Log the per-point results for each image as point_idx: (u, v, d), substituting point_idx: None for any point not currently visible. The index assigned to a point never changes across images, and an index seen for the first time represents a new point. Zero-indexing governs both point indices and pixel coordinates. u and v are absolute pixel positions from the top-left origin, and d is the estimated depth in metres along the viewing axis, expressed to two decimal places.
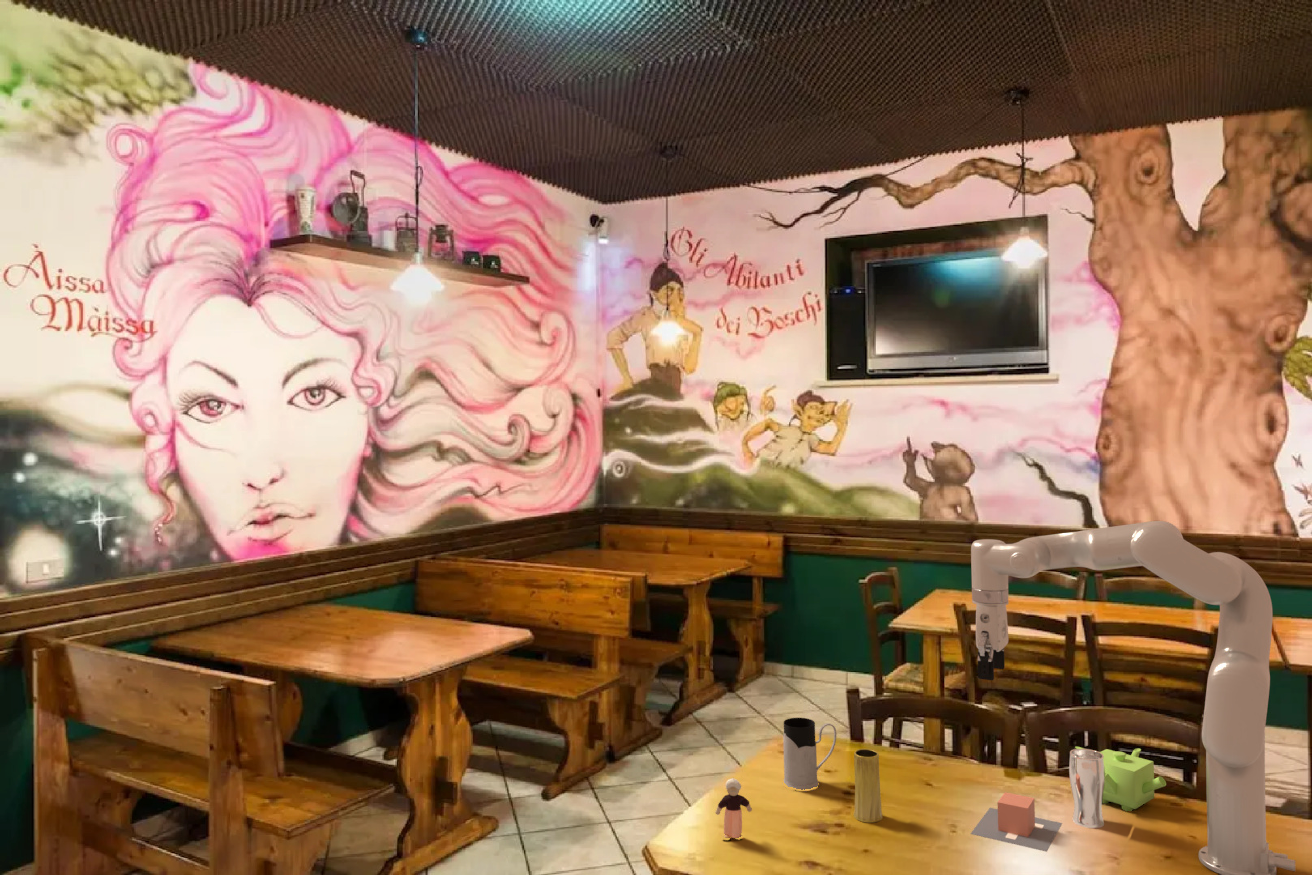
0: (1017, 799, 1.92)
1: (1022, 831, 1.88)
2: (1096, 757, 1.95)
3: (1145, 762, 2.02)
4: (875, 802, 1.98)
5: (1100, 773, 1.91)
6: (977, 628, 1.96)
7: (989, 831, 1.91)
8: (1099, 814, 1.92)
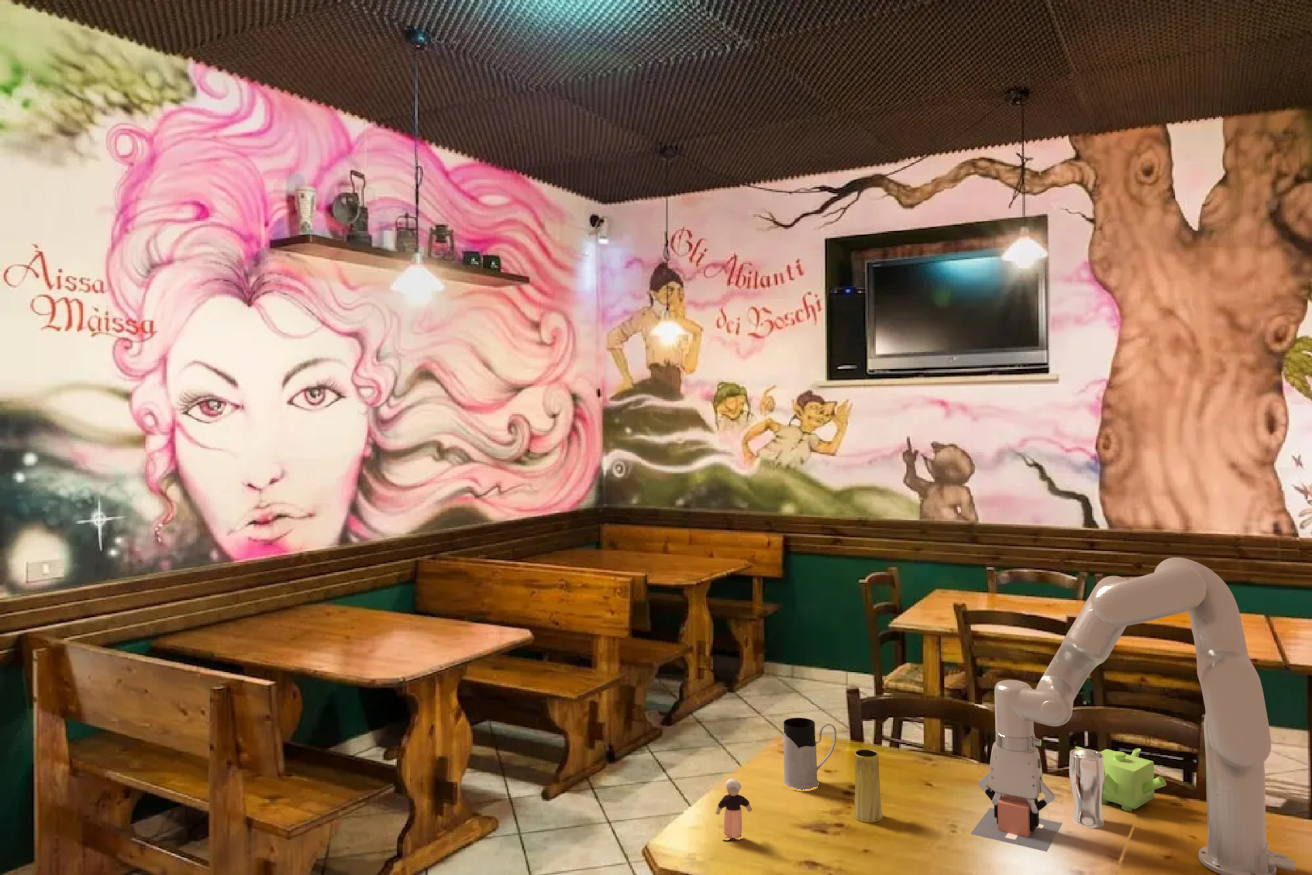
0: (1017, 799, 1.92)
1: (1022, 831, 1.88)
2: (1096, 757, 1.95)
3: (1145, 762, 2.02)
4: (875, 802, 1.98)
5: (1100, 773, 1.91)
6: (1037, 777, 1.88)
7: (989, 831, 1.91)
8: (1099, 814, 1.92)
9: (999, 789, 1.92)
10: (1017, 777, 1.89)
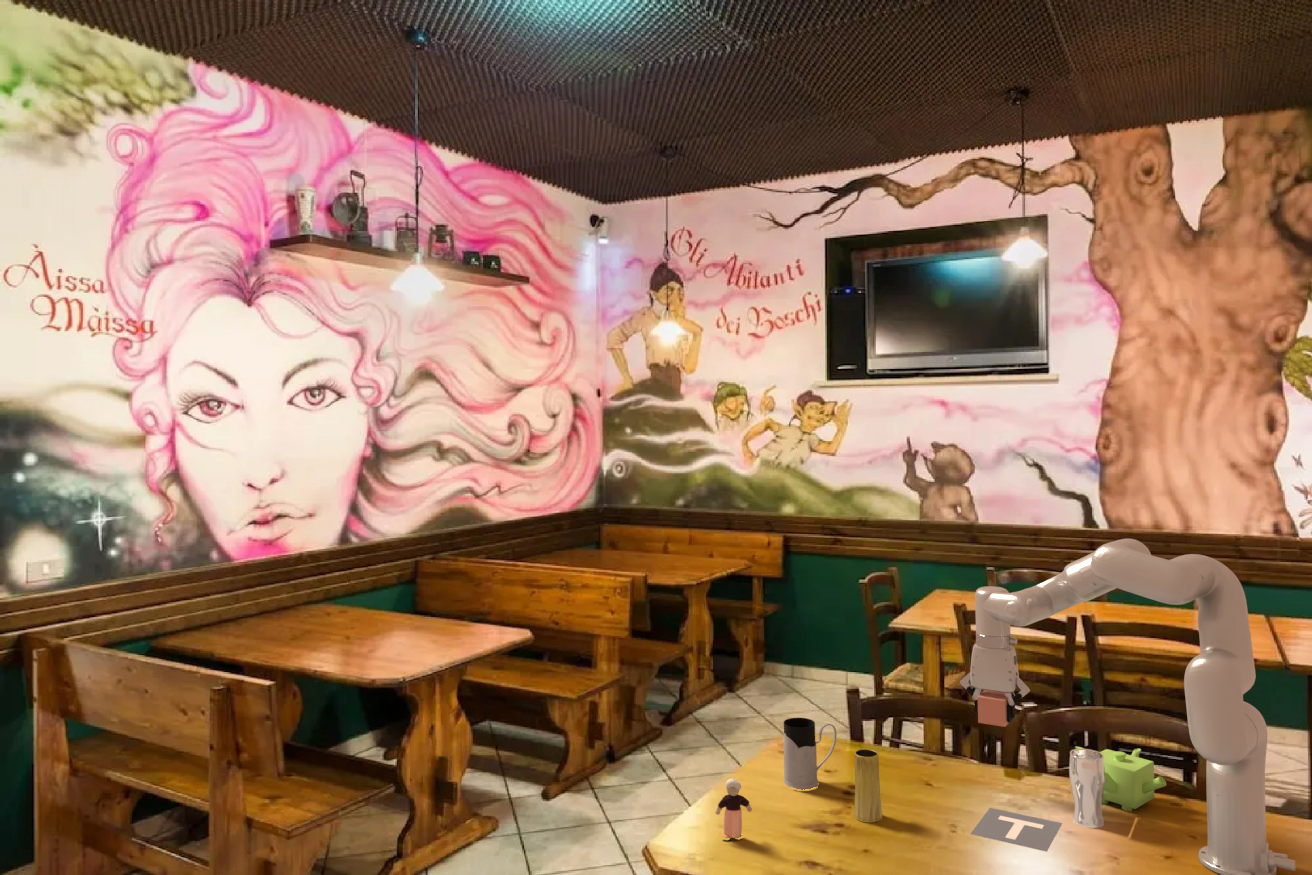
0: (995, 694, 2.10)
1: (1000, 722, 2.06)
2: (1096, 757, 1.95)
3: (1145, 762, 2.02)
4: (875, 802, 1.98)
5: (1100, 773, 1.91)
6: (1013, 672, 2.06)
7: (989, 831, 1.91)
8: (1099, 814, 1.92)
9: (979, 685, 2.10)
10: (995, 673, 2.07)
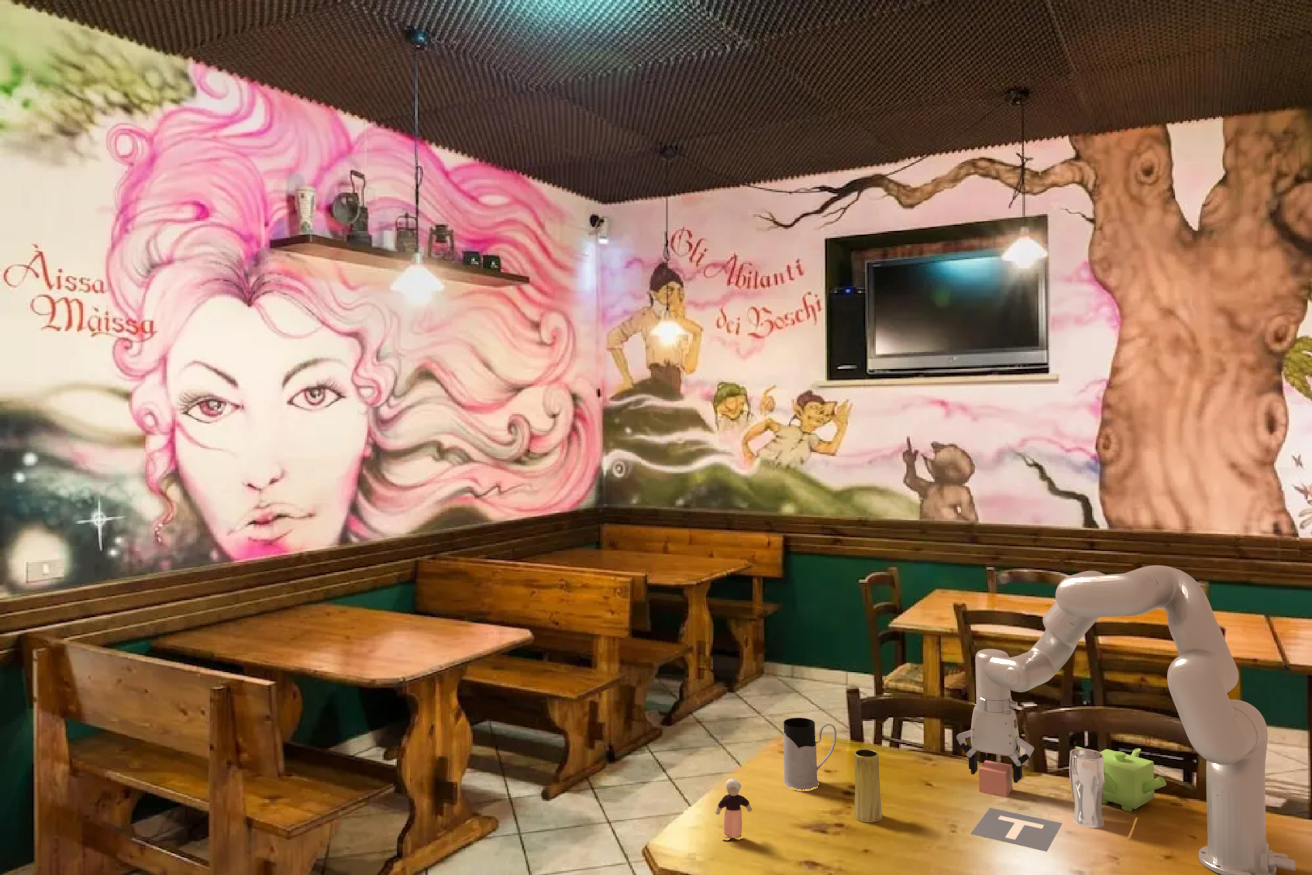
0: (996, 765, 2.12)
1: (1001, 794, 2.08)
2: (1096, 757, 1.95)
3: (1145, 762, 2.02)
4: (875, 802, 1.98)
5: (1100, 773, 1.91)
6: (1013, 736, 2.07)
7: (989, 831, 1.91)
8: (1099, 814, 1.92)
9: (980, 747, 2.11)
10: (995, 736, 2.09)
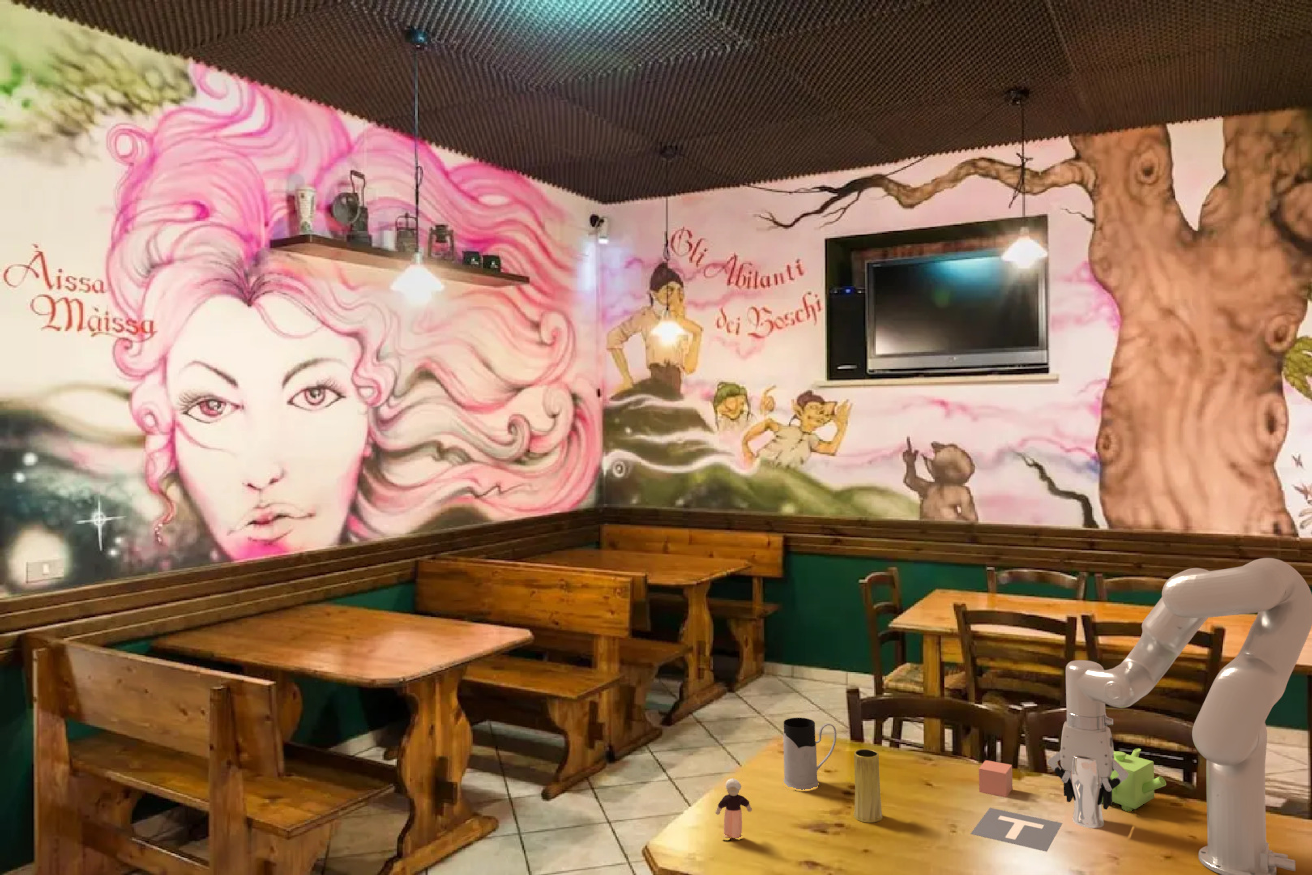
0: (996, 765, 2.12)
1: (1001, 794, 2.08)
2: None
3: (1145, 762, 2.02)
4: (875, 802, 1.98)
5: None
6: (1110, 756, 1.90)
7: (989, 831, 1.91)
8: (1099, 814, 1.92)
9: None
10: (1089, 756, 1.91)
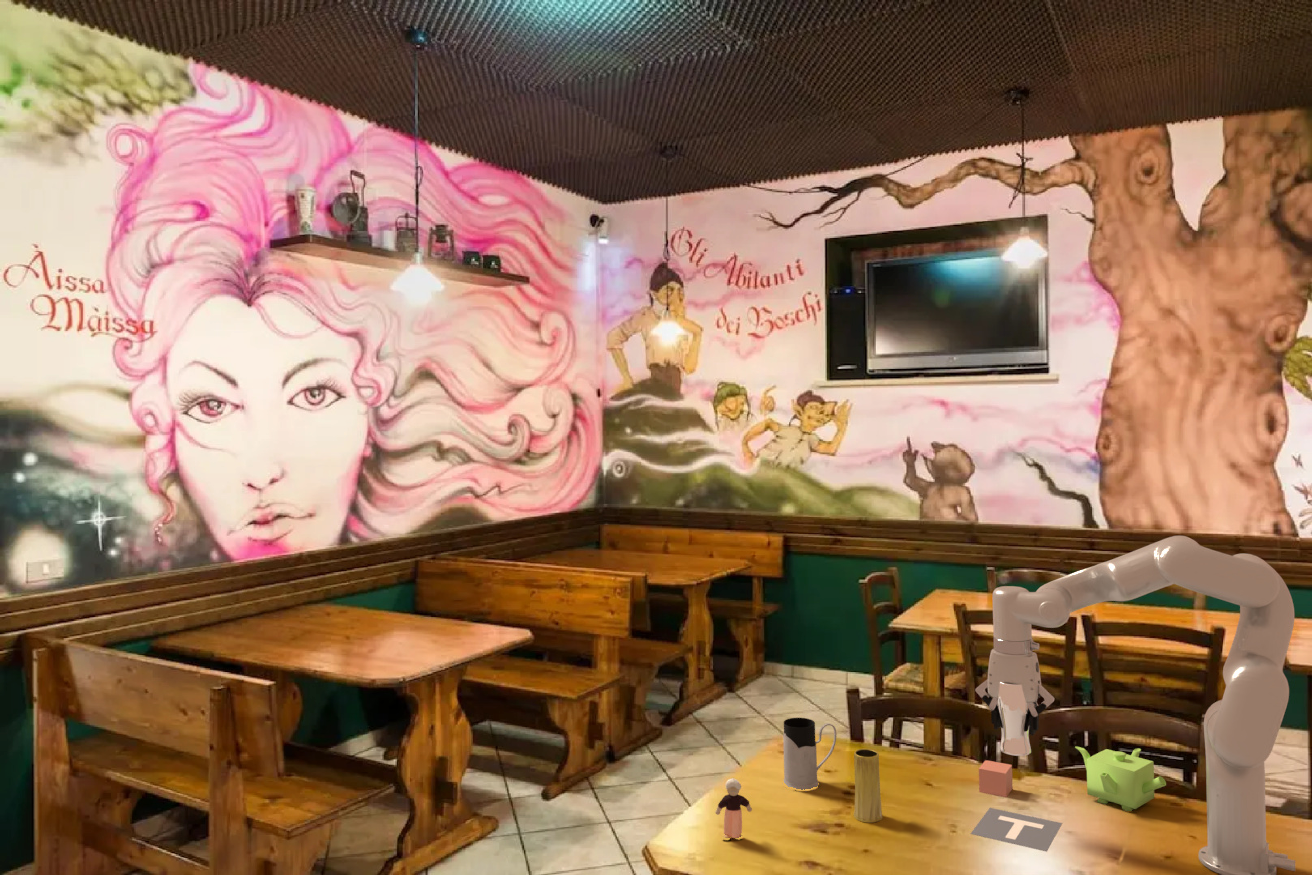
0: (996, 765, 2.12)
1: (1001, 794, 2.08)
2: None
3: (1145, 762, 2.02)
4: (875, 802, 1.98)
5: None
6: (1035, 680, 1.87)
7: (989, 831, 1.91)
8: (1025, 740, 1.89)
9: None
10: (1015, 681, 1.89)
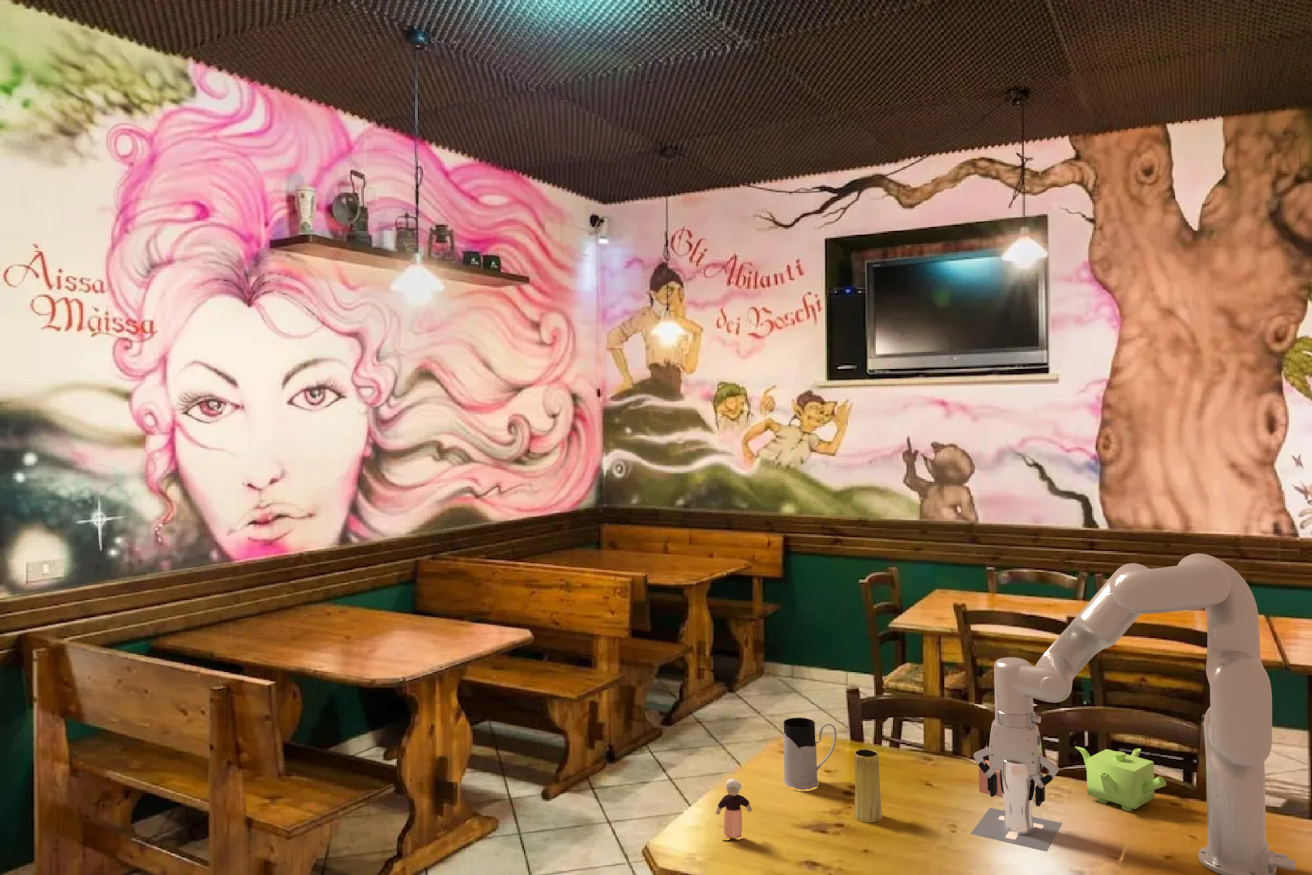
0: None
1: (1001, 794, 2.08)
2: None
3: (1145, 762, 2.02)
4: (875, 802, 1.98)
5: (1029, 777, 1.88)
6: (1037, 754, 1.87)
7: (989, 831, 1.91)
8: (1029, 819, 1.89)
9: (999, 766, 1.91)
10: (1017, 754, 1.89)
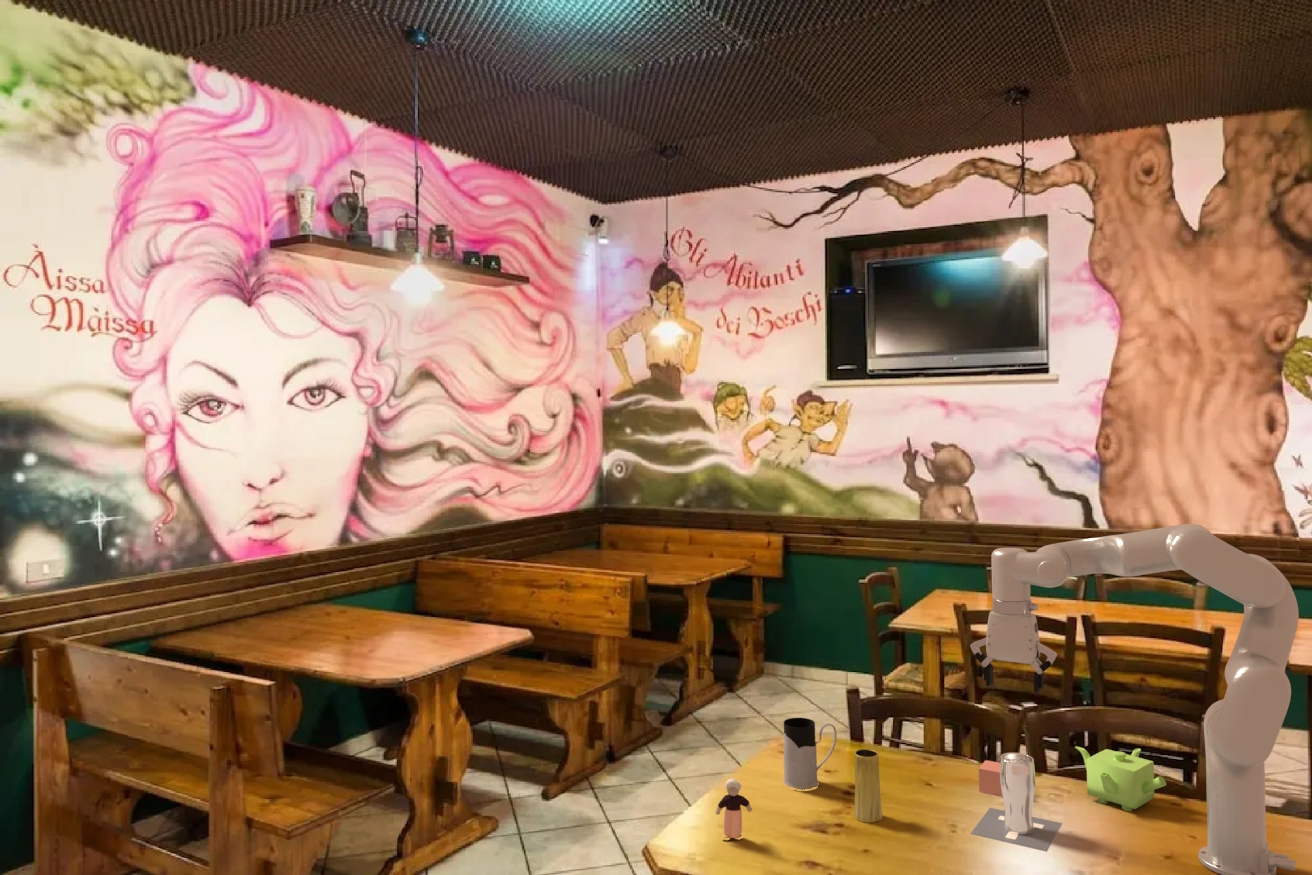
0: (996, 765, 2.12)
1: (1001, 794, 2.08)
2: (1027, 761, 1.93)
3: (1145, 762, 2.02)
4: (875, 802, 1.98)
5: (1029, 777, 1.88)
6: (1034, 641, 1.87)
7: (989, 831, 1.91)
8: (1029, 819, 1.89)
9: (996, 656, 1.91)
10: (1014, 642, 1.89)
